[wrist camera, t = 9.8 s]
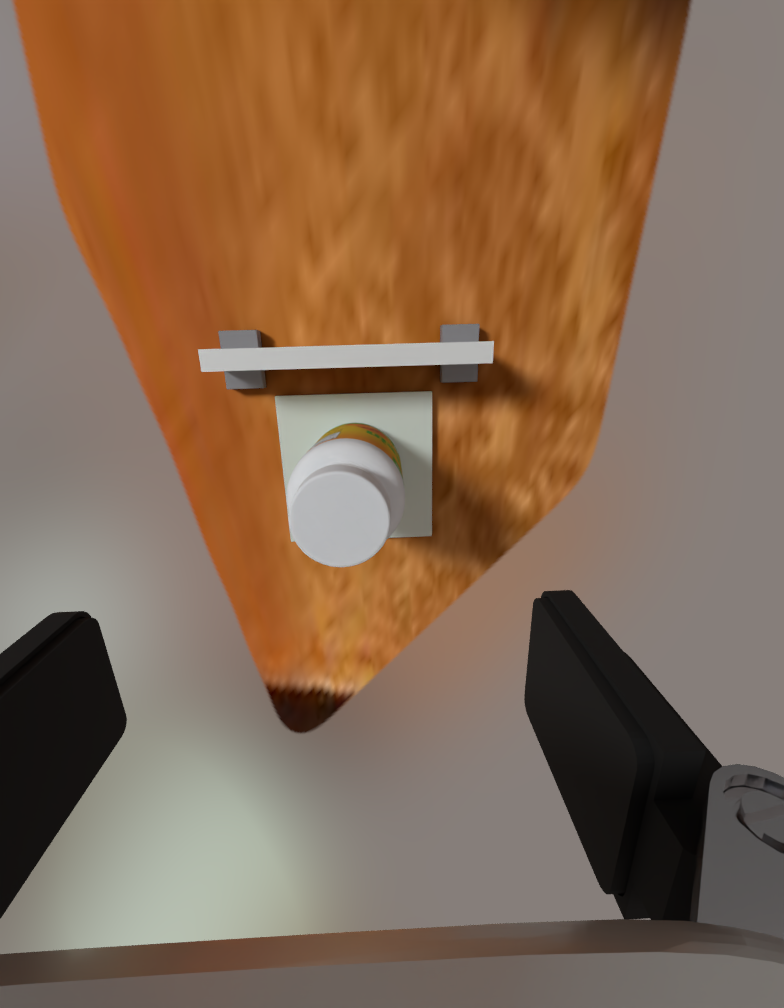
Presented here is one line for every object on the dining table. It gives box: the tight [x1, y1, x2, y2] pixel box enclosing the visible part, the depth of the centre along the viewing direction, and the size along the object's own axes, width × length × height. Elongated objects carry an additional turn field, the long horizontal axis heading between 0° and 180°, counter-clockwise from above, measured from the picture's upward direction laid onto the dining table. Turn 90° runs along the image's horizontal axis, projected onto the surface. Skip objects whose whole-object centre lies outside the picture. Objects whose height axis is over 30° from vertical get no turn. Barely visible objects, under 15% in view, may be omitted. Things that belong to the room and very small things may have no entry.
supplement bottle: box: [287, 422, 405, 567], centre depth 21 cm, size 5×5×10 cm
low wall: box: [198, 324, 494, 389], centre depth 22 cm, size 3×14×4 cm, turn 92°
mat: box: [275, 391, 432, 542], centre depth 26 cm, size 9×9×1 cm
